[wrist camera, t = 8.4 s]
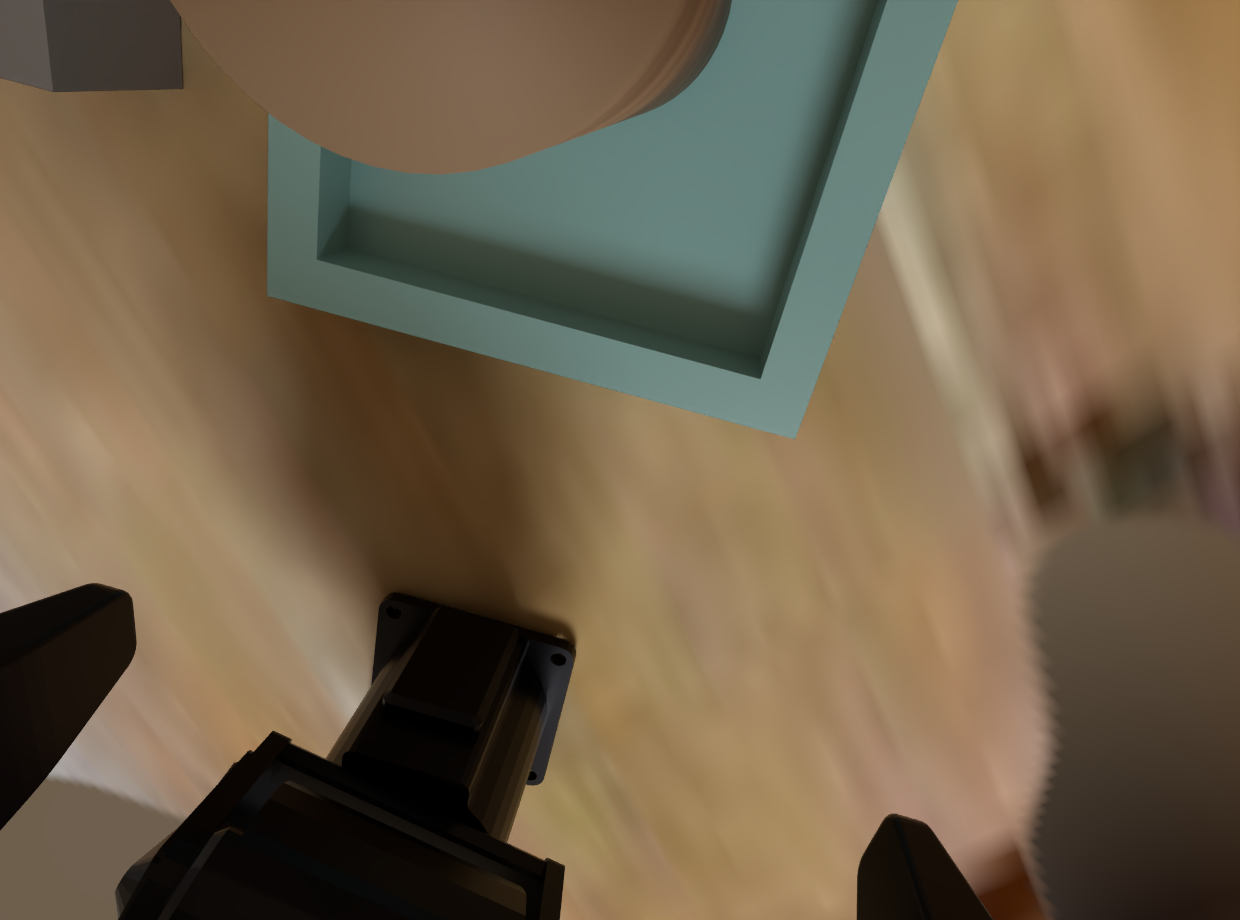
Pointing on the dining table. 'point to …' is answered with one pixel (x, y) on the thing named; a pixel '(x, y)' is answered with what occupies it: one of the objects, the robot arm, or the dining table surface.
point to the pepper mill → (455, 70)
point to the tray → (640, 221)
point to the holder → (91, 44)
